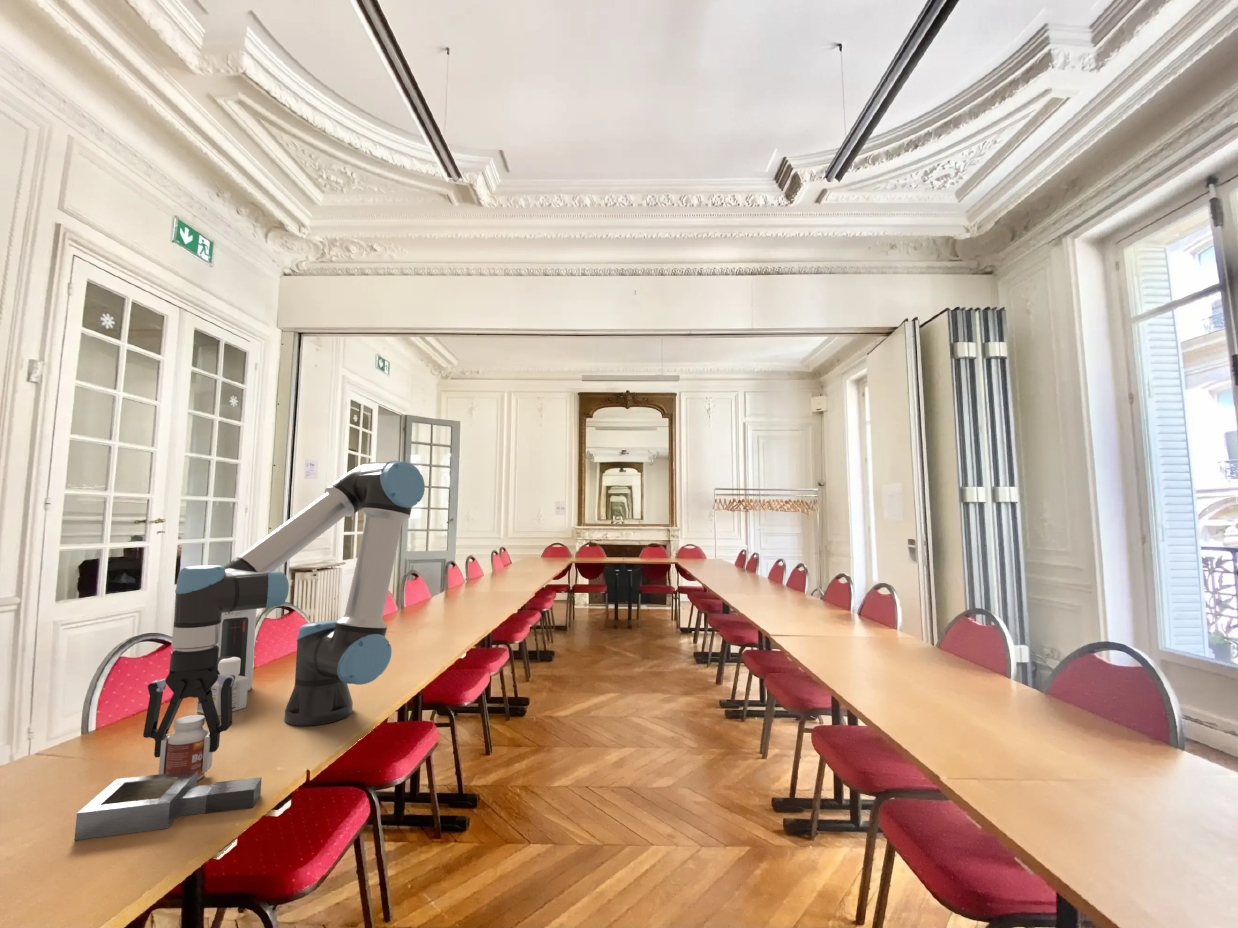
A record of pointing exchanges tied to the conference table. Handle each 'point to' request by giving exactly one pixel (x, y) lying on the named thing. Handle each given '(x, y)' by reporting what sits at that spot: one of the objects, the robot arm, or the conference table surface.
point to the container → (239, 688)
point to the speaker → (239, 639)
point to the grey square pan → (159, 803)
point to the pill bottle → (186, 745)
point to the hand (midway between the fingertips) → (185, 771)
